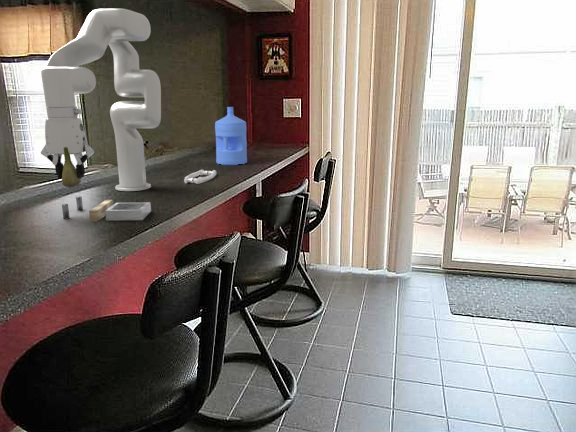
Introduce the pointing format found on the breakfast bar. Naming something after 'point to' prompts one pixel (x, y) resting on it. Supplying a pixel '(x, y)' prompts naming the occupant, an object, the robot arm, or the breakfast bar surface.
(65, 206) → the pegs
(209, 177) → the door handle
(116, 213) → the frame
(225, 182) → the breakfast bar surface
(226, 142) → the water jug
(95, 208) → the door edge rail
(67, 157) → the fennel bulb
